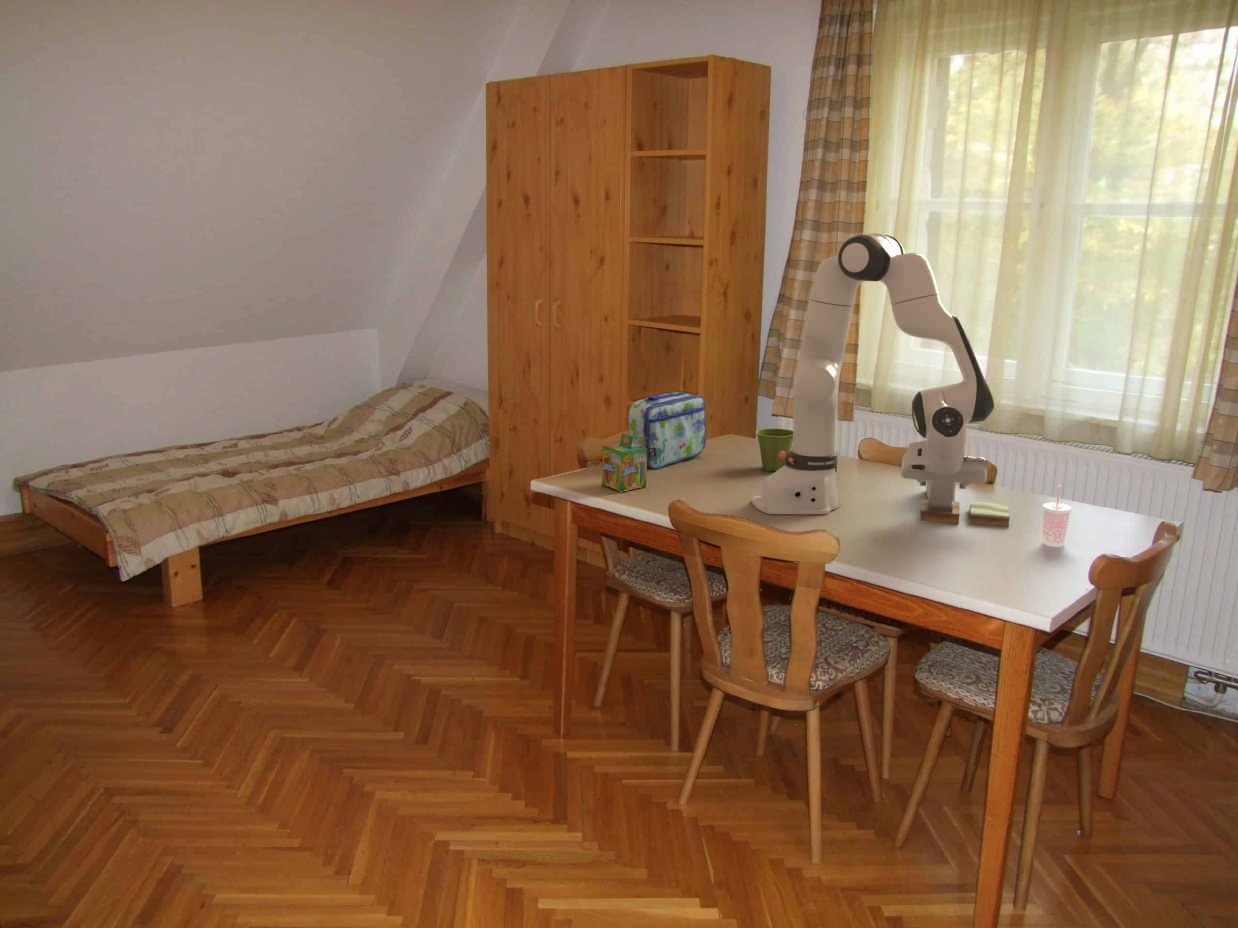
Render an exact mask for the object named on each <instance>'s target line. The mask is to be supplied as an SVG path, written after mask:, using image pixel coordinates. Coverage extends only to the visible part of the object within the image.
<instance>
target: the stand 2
mask: <svg viewBox="0 0 1238 928" xmlns="http://www.w3.org/2000/svg"><path fill="white" fill-rule="evenodd" d="M1009 509H1010V508H1009V504H1008V503H999V502H985V501H977V500H974V501H973V500H970V501H969V524H976V525H977V524H978V525H989V526H1001V527H1009V526H1010V511H1009Z"/></svg>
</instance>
